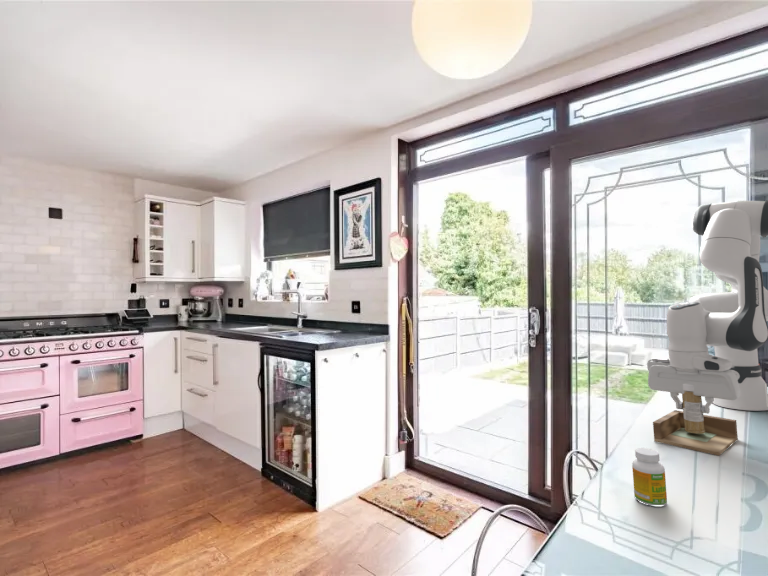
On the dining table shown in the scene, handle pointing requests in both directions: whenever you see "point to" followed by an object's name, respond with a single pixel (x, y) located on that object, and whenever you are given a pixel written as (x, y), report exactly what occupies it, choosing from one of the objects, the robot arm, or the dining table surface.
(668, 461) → the dining table surface
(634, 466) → the supplement bottle
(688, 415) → the sprinkles bottle
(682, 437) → the corner arena
